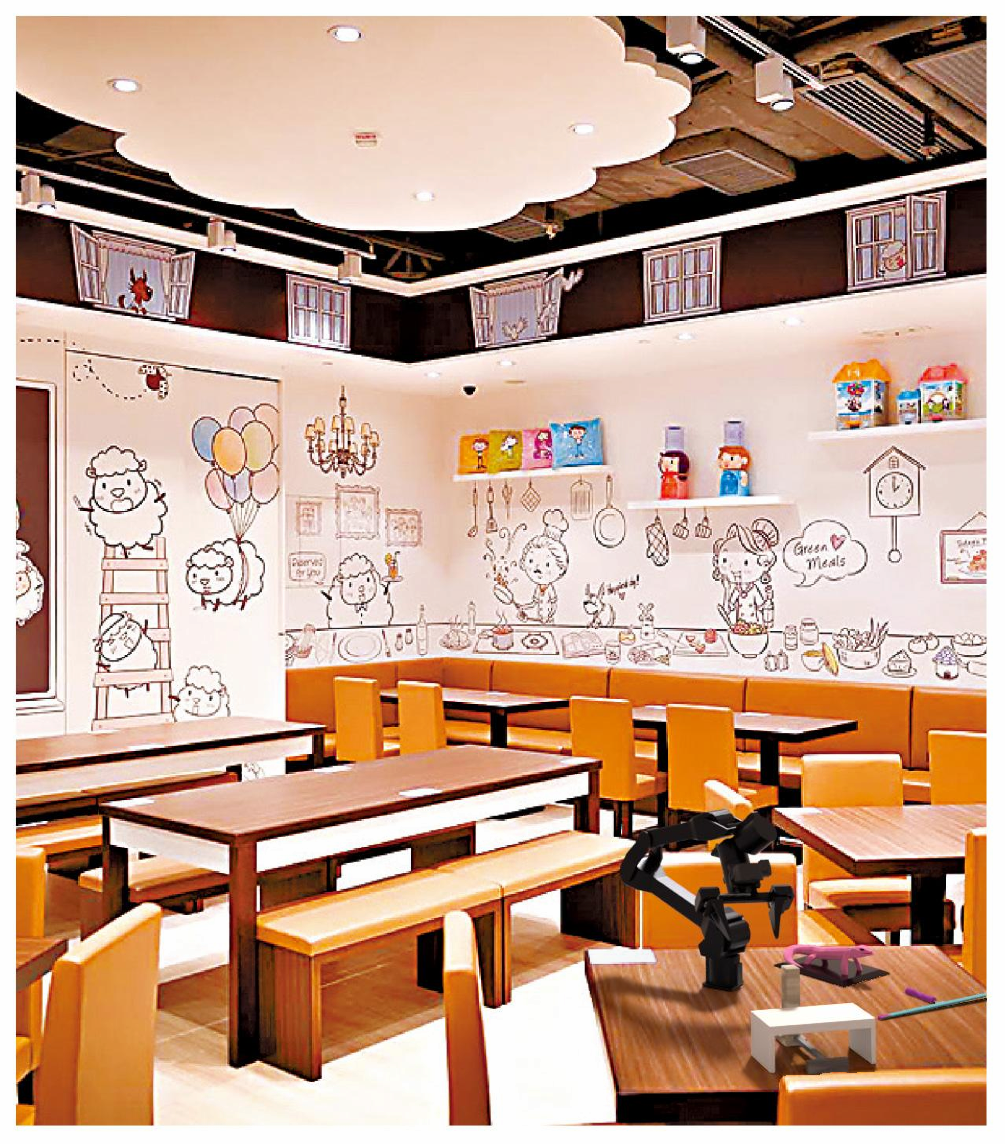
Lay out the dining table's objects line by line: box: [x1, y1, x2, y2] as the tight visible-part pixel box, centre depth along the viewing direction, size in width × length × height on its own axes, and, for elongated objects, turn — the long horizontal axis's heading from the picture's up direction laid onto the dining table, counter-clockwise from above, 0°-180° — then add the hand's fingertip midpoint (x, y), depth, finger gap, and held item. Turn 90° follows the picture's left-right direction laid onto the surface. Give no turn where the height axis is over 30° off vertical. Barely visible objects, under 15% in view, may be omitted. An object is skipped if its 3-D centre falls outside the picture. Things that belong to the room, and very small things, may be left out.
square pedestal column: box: [775, 965, 850, 1075], centre depth 207 cm, size 16×7×13 cm, turn 11°
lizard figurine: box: [773, 943, 890, 988], centre depth 254 cm, size 15×20×7 cm
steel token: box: [821, 1069, 847, 1074], centre depth 197 cm, size 4×4×1 cm
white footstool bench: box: [750, 1002, 877, 1074], centre depth 205 cm, size 8×19×8 cm, turn 101°
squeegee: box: [877, 986, 987, 1021], centre depth 234 cm, size 29×2×10 cm
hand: (753, 938), depth 230 cm, fingers open, 9 cm apart
